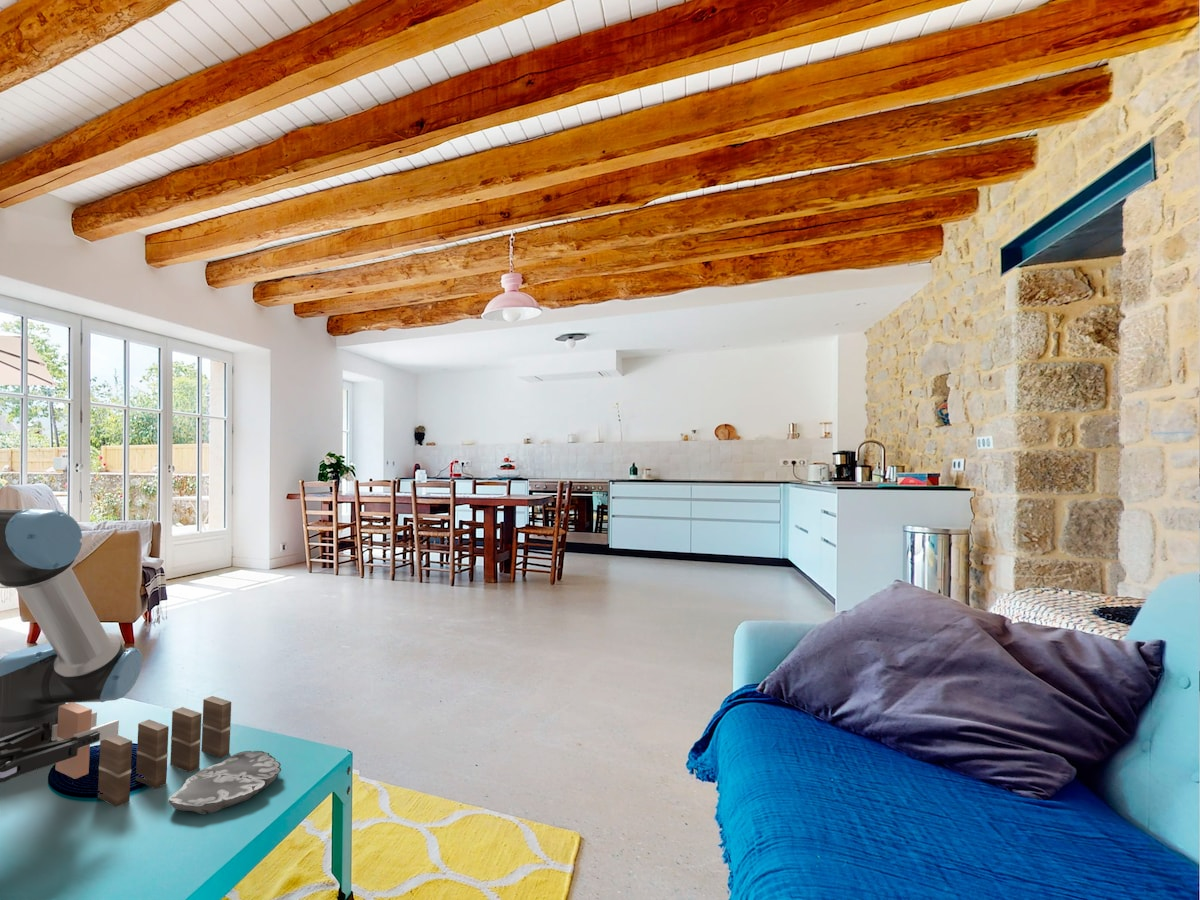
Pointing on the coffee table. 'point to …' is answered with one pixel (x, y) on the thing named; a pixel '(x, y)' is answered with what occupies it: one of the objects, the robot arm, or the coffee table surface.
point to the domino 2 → (115, 770)
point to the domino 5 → (216, 726)
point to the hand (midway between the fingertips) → (106, 722)
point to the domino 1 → (70, 723)
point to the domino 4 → (185, 739)
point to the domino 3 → (152, 753)
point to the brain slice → (226, 782)
